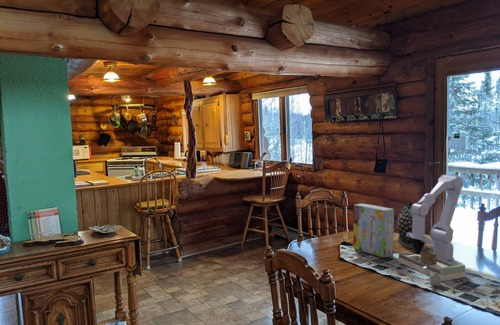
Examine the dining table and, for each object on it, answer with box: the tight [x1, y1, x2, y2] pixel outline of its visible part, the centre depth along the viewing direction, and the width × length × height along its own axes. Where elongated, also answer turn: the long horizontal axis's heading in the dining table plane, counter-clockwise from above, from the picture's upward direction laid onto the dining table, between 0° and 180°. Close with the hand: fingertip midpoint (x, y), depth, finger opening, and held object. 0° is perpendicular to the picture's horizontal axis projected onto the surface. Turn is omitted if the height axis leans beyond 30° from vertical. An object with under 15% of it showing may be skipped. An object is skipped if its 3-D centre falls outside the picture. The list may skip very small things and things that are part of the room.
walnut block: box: [421, 250, 437, 265], centre depth 194 cm, size 5×5×5 cm
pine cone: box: [396, 200, 414, 249], centre depth 232 cm, size 21×15×25 cm
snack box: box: [352, 203, 395, 259], centre depth 219 cm, size 22×9×26 cm, turn 34°
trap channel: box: [397, 253, 466, 282], centre depth 193 cm, size 14×28×6 cm, turn 20°
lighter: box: [423, 266, 442, 287], centre depth 174 cm, size 7×2×8 cm, turn 78°
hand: (417, 254), depth 201 cm, fingers closed
